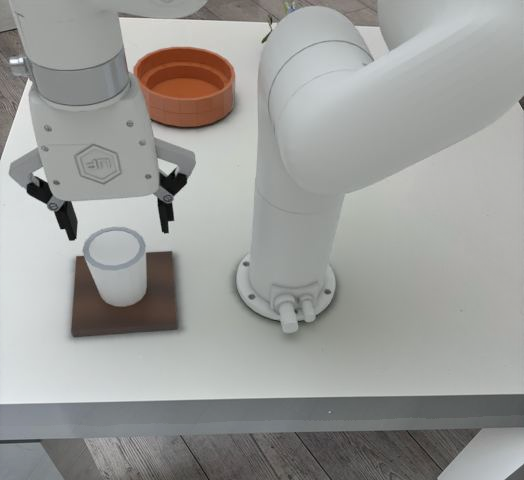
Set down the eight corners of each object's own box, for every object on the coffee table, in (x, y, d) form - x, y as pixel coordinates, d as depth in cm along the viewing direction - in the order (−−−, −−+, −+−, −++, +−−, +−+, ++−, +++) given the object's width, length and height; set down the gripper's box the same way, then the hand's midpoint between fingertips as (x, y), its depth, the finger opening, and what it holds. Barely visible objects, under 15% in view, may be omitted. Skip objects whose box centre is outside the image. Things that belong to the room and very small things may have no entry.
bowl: (239, 128, 88) (240, 99, 84) (137, 130, 86) (133, 100, 82) (228, 75, 97) (229, 46, 93) (136, 76, 95) (132, 46, 91)
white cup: (141, 315, 64) (133, 275, 58) (85, 304, 64) (72, 262, 58) (159, 274, 68) (153, 232, 62) (106, 263, 68) (96, 220, 62)
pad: (177, 329, 64) (177, 324, 63) (72, 337, 63) (70, 331, 62) (172, 256, 71) (172, 250, 70) (77, 261, 69) (76, 255, 69)
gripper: (-39, 101, 41) (33, 260, 55) (190, 89, 43) (203, 246, 57) (-24, 50, 45) (39, 210, 59) (184, 42, 47) (198, 199, 61)
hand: (119, 228), depth 58 cm, fingers open, 9 cm apart
